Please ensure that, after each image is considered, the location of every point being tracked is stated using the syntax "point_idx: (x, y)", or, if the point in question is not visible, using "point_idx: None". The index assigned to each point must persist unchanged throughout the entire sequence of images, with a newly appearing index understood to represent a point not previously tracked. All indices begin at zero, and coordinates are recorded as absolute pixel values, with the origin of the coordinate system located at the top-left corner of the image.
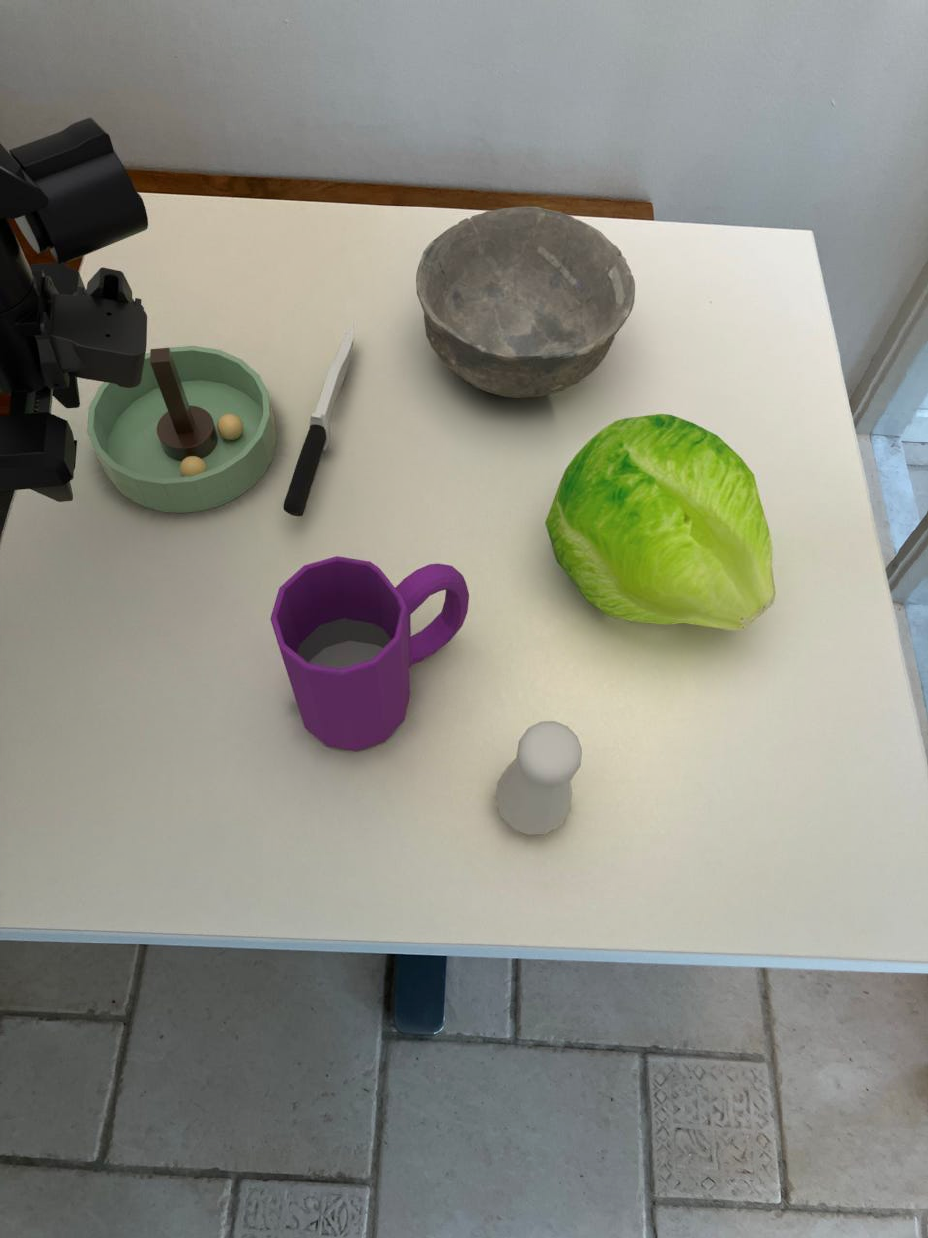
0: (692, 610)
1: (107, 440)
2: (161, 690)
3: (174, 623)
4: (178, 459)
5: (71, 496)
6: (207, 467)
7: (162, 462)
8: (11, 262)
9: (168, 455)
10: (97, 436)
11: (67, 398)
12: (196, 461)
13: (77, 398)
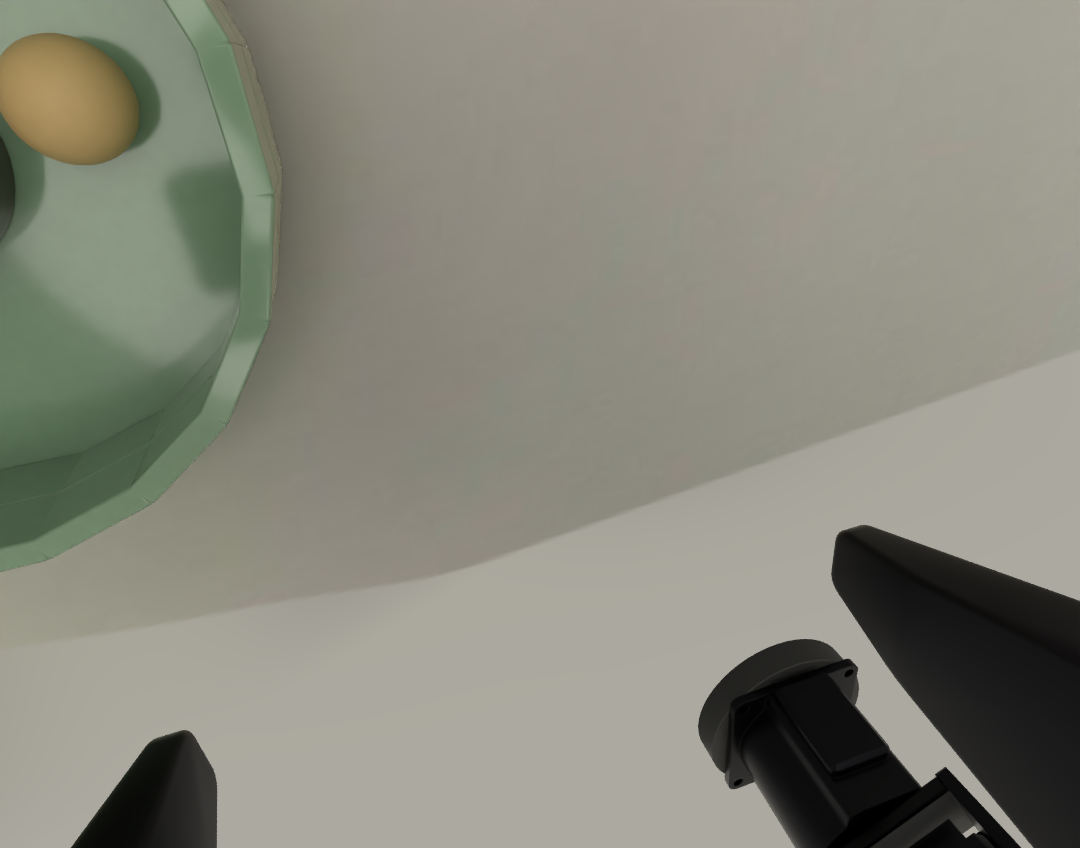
0: None
1: (8, 471)
2: (875, 113)
3: (696, 105)
4: (11, 191)
5: (909, 541)
6: None
7: (46, 257)
8: None
9: (1, 238)
10: (49, 512)
11: (189, 839)
12: (39, 73)
13: (167, 795)
